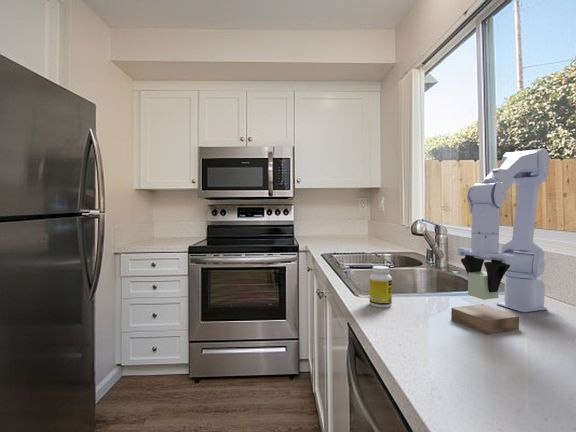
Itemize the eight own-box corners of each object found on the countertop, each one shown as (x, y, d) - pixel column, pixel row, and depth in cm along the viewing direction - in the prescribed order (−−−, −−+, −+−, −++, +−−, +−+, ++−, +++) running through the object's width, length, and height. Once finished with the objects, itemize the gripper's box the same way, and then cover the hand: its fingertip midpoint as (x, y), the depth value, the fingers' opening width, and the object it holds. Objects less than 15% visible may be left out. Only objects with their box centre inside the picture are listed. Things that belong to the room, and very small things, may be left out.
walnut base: (481, 315, 87) (482, 304, 87) (518, 329, 78) (519, 316, 77) (451, 319, 84) (451, 307, 84) (486, 334, 74) (486, 320, 74)
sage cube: (482, 293, 84) (482, 271, 83) (498, 298, 79) (498, 275, 79) (468, 294, 82) (468, 272, 82) (483, 299, 78) (484, 276, 78)
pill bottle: (392, 309, 92) (393, 269, 92) (369, 307, 94) (370, 268, 93) (390, 302, 98) (391, 265, 98) (369, 301, 100) (369, 264, 99)
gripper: (448, 231, 86) (447, 283, 86) (499, 236, 72) (498, 298, 73) (470, 230, 88) (469, 281, 89) (523, 235, 74) (522, 296, 75)
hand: (483, 289), depth 81 cm, fingers closed on sage cube, 4 cm apart
